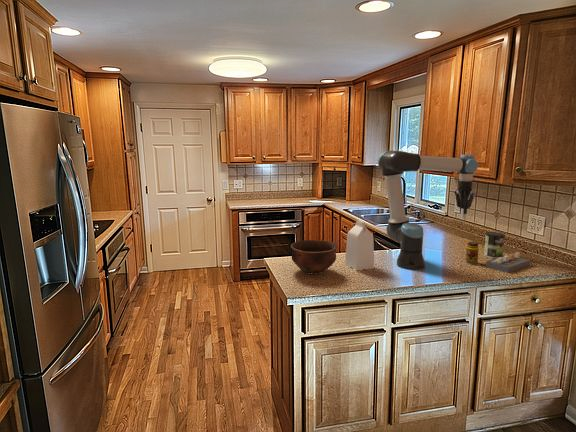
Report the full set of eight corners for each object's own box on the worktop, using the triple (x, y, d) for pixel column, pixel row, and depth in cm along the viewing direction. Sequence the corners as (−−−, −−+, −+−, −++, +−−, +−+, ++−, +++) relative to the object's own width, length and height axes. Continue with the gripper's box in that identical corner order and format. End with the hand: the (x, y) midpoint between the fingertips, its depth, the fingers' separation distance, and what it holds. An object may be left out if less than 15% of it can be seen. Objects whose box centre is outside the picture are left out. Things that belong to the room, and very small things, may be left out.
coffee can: (507, 257, 224) (509, 235, 221) (493, 259, 221) (495, 236, 218) (493, 253, 233) (495, 231, 231) (479, 254, 231) (481, 232, 228)
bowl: (287, 278, 192) (287, 250, 189) (293, 264, 216) (293, 238, 213) (336, 280, 188) (336, 251, 186) (336, 265, 213) (337, 239, 210)
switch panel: (507, 272, 197) (508, 267, 197) (485, 266, 207) (485, 261, 207) (530, 264, 210) (530, 259, 209) (508, 259, 220) (508, 254, 219)
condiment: (467, 264, 211) (469, 244, 209) (461, 260, 220) (463, 240, 218) (480, 265, 211) (482, 244, 209) (474, 260, 219) (476, 240, 217)
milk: (345, 264, 214) (345, 220, 209) (362, 262, 218) (363, 218, 213) (356, 270, 203) (357, 224, 198) (374, 268, 207) (375, 222, 202)
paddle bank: (499, 264, 202) (500, 258, 201) (496, 263, 203) (497, 258, 202) (519, 257, 213) (520, 252, 212) (517, 257, 214) (517, 252, 213)
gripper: (479, 180, 221) (476, 219, 225) (459, 179, 232) (456, 216, 236) (472, 181, 217) (469, 221, 221) (452, 180, 228) (449, 218, 232)
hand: (462, 218), depth 229 cm, fingers closed
